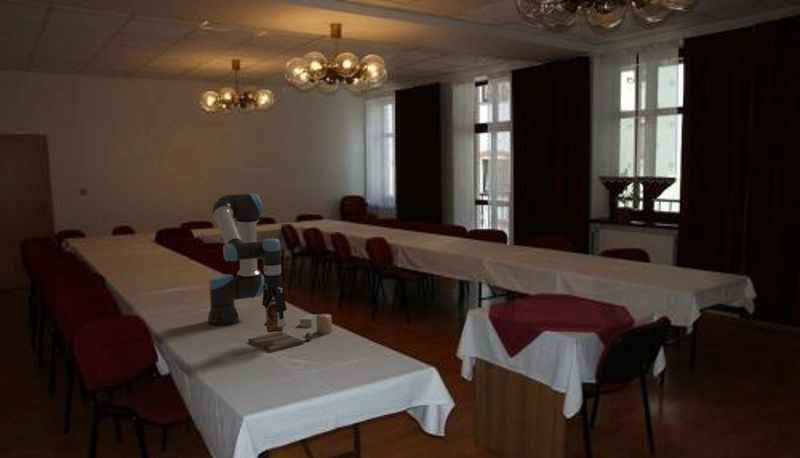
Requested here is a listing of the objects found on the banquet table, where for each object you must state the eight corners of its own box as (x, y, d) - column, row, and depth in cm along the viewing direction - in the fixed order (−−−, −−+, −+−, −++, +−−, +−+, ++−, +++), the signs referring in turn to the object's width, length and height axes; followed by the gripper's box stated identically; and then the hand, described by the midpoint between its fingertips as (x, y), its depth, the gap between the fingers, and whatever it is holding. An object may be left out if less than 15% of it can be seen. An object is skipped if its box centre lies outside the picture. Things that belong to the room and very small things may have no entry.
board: (248, 342, 263) (248, 339, 263) (279, 334, 274) (279, 331, 274) (271, 352, 248) (271, 348, 248) (303, 343, 259) (303, 340, 259)
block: (300, 326, 287) (299, 318, 287) (307, 321, 296) (307, 314, 295) (311, 327, 286) (311, 319, 285) (318, 322, 294) (318, 314, 294)
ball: (303, 340, 265) (303, 332, 264) (310, 338, 267) (309, 330, 267) (307, 341, 262) (307, 334, 262) (314, 340, 265) (314, 332, 264)
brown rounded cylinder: (314, 332, 277) (313, 315, 276) (326, 329, 281) (325, 313, 280) (322, 335, 271) (322, 318, 271) (334, 332, 276) (334, 315, 275)
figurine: (264, 333, 254) (262, 299, 256) (263, 332, 261) (261, 299, 263) (287, 331, 257) (285, 297, 258) (286, 330, 264) (284, 297, 266)
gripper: (252, 272, 263) (255, 321, 265) (278, 278, 247) (280, 330, 249) (267, 269, 268) (269, 317, 270) (293, 275, 252) (295, 326, 254)
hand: (274, 323), depth 260 cm, fingers closed on figurine, 9 cm apart
